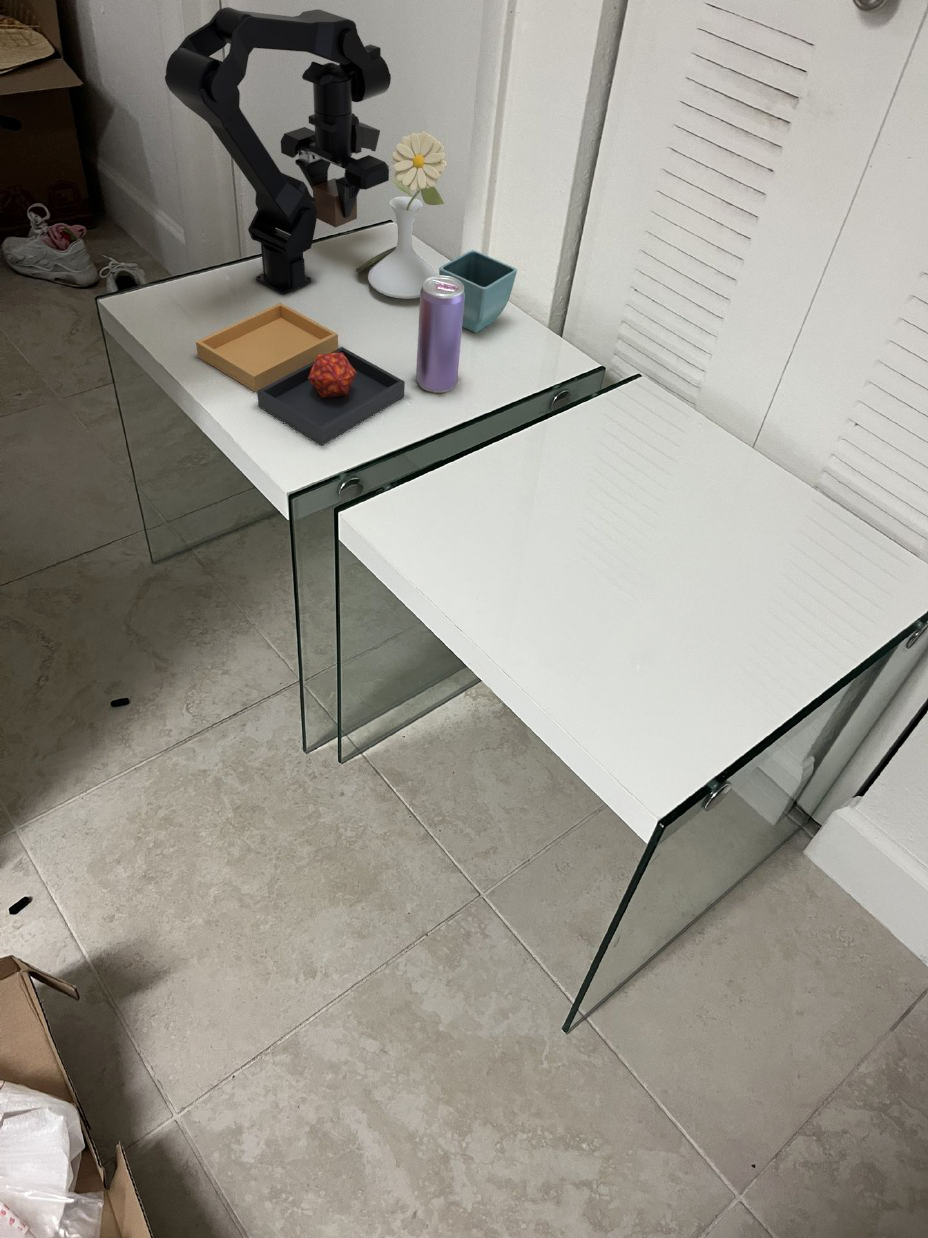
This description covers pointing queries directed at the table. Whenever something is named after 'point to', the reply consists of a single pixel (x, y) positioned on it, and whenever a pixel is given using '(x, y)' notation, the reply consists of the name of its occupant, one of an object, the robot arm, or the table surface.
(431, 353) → the beverage can
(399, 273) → the flower in vase
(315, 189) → the walnut block
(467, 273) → the flower pot
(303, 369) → the stone tray
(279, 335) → the wood tray
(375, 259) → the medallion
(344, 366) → the decorative stone
